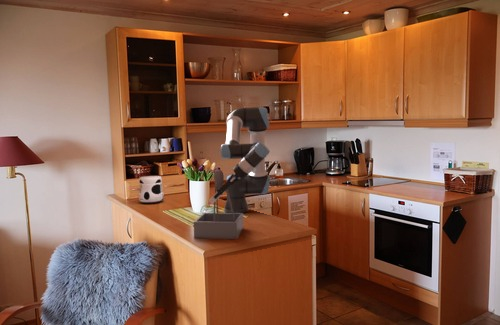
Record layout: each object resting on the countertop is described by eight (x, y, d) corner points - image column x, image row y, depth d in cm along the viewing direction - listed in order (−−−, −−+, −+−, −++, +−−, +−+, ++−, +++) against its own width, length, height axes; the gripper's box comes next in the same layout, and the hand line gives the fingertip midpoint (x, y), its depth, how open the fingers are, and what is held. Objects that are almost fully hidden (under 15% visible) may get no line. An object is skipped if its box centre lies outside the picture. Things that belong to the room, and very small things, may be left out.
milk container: (135, 202, 299) (133, 177, 297) (157, 199, 309) (156, 174, 307) (145, 205, 285) (143, 179, 283) (168, 202, 295) (167, 177, 294)
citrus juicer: (235, 227, 211) (231, 169, 207) (223, 233, 203) (218, 172, 199) (218, 225, 218) (213, 168, 214) (205, 230, 210) (200, 171, 206)
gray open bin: (204, 227, 223) (203, 212, 222) (243, 228, 220) (242, 213, 219) (194, 238, 203) (193, 221, 202) (237, 239, 200) (236, 222, 200)
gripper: (245, 176, 196) (213, 210, 200) (251, 171, 217) (222, 201, 221) (234, 165, 196) (201, 199, 200) (241, 161, 217) (212, 191, 221)
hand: (212, 200), depth 210 cm, fingers closed on citrus juicer, 9 cm apart
